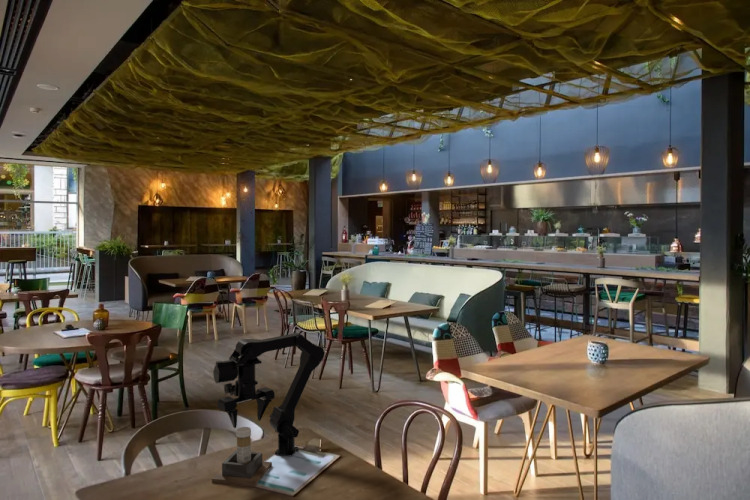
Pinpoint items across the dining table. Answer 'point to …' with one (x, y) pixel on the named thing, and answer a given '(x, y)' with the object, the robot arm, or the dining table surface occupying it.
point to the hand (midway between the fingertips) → (247, 423)
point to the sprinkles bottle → (243, 445)
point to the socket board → (242, 470)
